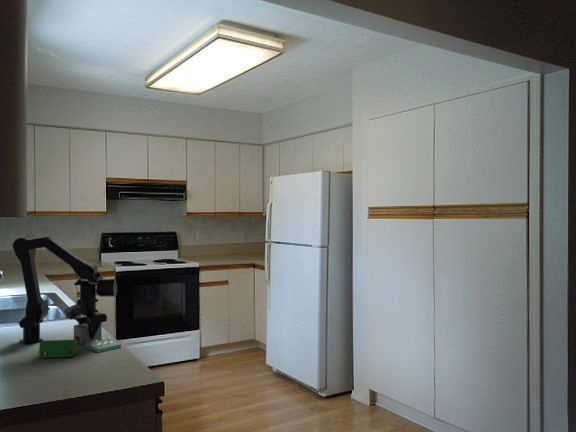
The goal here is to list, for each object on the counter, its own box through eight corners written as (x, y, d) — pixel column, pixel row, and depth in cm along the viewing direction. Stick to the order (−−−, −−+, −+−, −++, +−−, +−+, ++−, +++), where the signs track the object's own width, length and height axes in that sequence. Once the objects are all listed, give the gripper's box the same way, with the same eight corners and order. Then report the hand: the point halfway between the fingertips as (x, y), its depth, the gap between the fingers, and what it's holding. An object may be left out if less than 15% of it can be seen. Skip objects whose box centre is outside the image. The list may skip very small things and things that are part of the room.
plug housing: (73, 341, 189) (73, 325, 189) (93, 337, 195) (93, 321, 195) (81, 344, 185) (81, 328, 185) (101, 340, 191) (101, 324, 191)
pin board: (84, 346, 183) (84, 338, 183) (107, 342, 189) (107, 333, 189) (97, 352, 176) (97, 343, 176) (121, 347, 183) (121, 338, 183)
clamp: (71, 366, 174) (83, 341, 177) (67, 367, 169) (79, 341, 171) (38, 353, 173) (51, 328, 176) (33, 354, 168) (46, 328, 170)
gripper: (55, 296, 190) (55, 336, 191) (78, 303, 178) (78, 346, 178) (84, 292, 199) (83, 331, 199) (108, 299, 186) (107, 340, 187)
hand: (87, 337), depth 190 cm, fingers closed on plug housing, 6 cm apart
